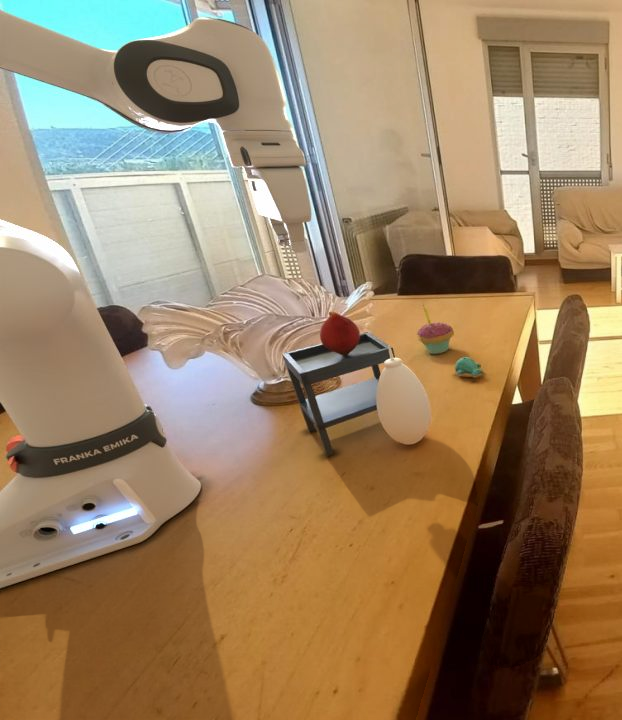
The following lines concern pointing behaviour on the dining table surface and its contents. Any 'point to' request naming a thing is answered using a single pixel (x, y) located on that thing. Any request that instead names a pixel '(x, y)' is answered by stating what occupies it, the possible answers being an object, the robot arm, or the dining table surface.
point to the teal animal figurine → (468, 368)
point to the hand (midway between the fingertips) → (292, 248)
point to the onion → (339, 334)
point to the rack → (328, 364)
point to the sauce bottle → (402, 402)
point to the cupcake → (435, 335)
